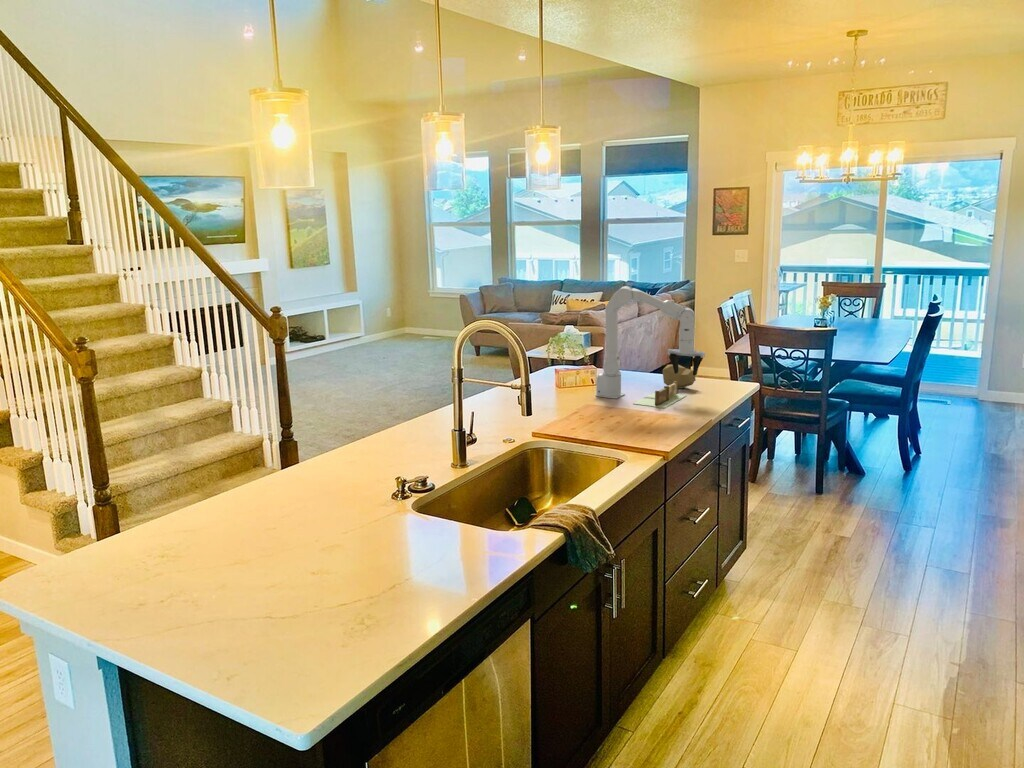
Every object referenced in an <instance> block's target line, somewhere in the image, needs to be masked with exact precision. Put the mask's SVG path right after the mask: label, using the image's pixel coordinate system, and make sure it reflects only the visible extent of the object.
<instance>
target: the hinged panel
mask: <svg viewBox="0 0 1024 768" xmlns="http://www.w3.org/2000/svg"><path fill="white" fill-rule="evenodd" d="M677 384H678V382H677V381H674V382H673V384H671V385H669V398H671V397H672V396H674V395H676V394H678V388H677Z"/></svg>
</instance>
